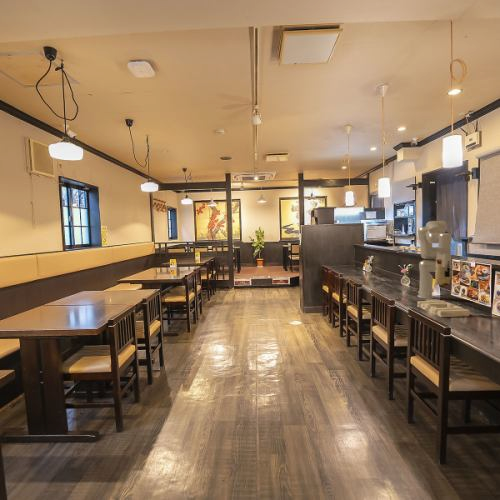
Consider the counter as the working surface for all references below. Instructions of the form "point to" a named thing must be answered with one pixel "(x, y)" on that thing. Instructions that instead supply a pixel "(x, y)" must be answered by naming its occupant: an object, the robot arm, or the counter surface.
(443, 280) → the food model
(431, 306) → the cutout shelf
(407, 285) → the counter surface
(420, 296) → the robot arm
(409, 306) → the counter surface
